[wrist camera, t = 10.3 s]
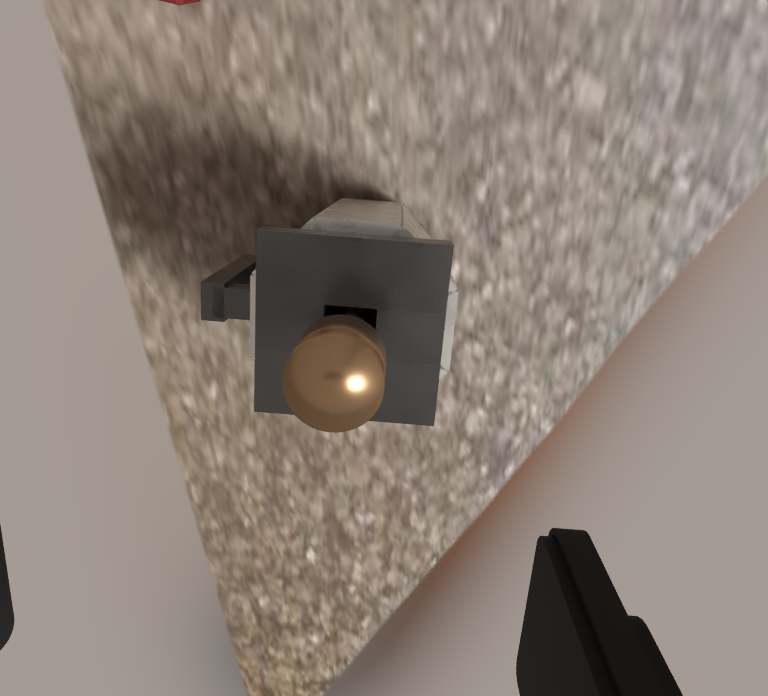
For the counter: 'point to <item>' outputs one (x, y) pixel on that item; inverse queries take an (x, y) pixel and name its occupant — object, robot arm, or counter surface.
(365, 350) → the plunger
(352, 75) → the counter surface
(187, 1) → the onion
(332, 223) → the french press
